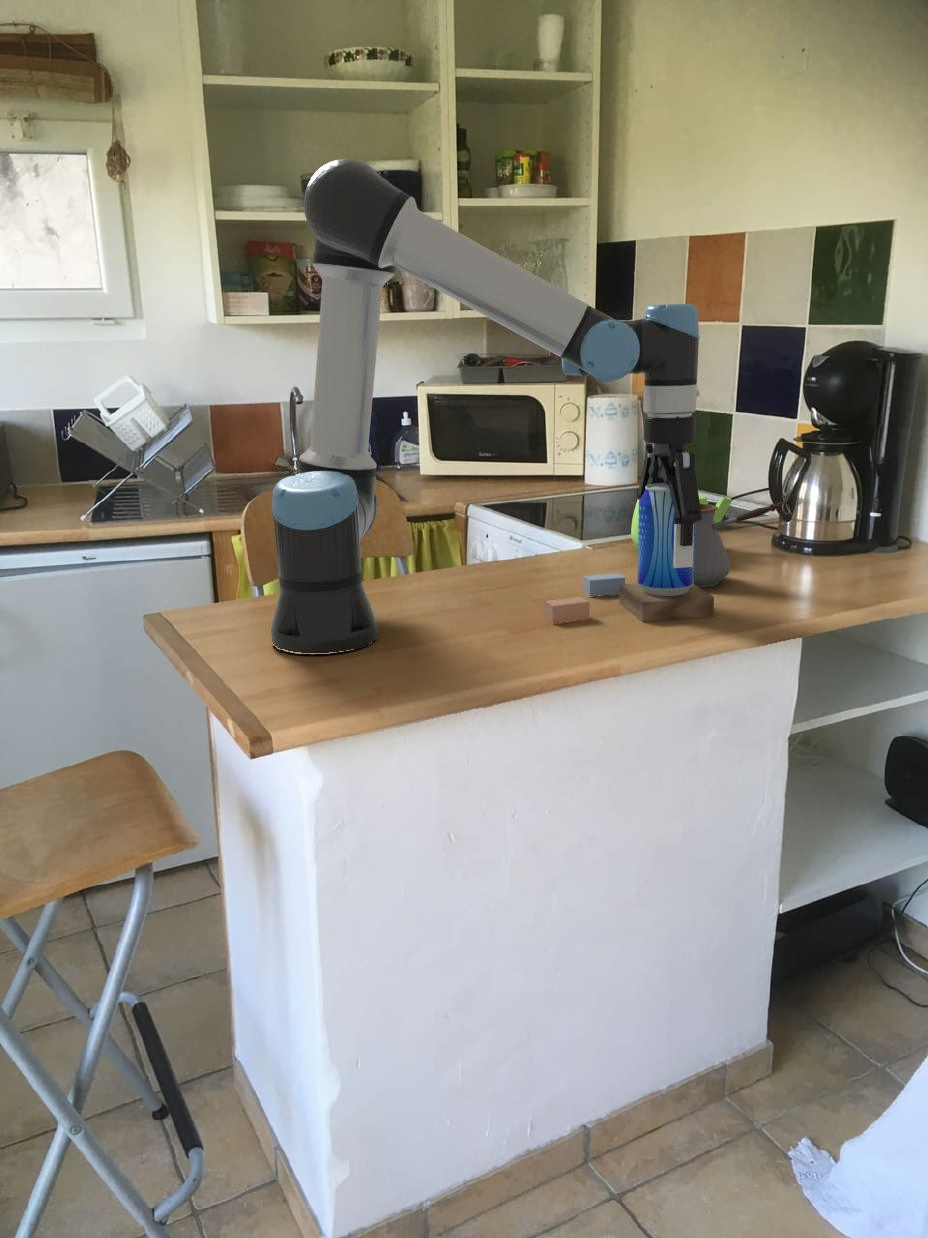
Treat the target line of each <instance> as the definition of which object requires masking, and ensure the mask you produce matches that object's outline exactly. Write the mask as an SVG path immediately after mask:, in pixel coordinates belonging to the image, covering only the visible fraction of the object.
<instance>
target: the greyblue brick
mask: <svg viewBox="0 0 928 1238" xmlns="http://www.w3.org/2000/svg"><path fill="white" fill-rule="evenodd" d="M622 584H626V577H625V576H624V575H622V574H620V573H619V572H618V573H608V574H607V573H606V574H605V573H604V574H592V575H584V576H583V593H584V592H586V593H587V594H588V595H589V596H598V595H601V596H600V597H603V596H602V595H610V596H618V595H617V594H620V585H622ZM588 595H587V596H588ZM589 596H588V597H589ZM598 597H599V596H598Z"/></svg>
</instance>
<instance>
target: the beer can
mask: <svg viewBox="0 0 928 1238" xmlns="http://www.w3.org/2000/svg"><path fill="white" fill-rule="evenodd" d="M645 489H646V490H645V492H644V494H643V495H642V497H641V499H640V500H639V525H638V550H637V583H638V584H639V585H640V586H641V587H642V590H643V592H645V593H647V594H651V595H656V596H677V595H682V594H685V593H687V592H688V591H689V588H690V587H691V586H692V585H693V584H694V560H695V527H696V523H694V547H693V567H684V568H674V567H673V557H674V524H673V521H674V519H675V518H677V517H676V513H675V509H674V505H673V501H672V497H671V493H670V489H669V486H668V485H667V484H665V483H656V484H650V485H647V486H645Z"/></svg>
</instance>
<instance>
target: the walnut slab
mask: <svg viewBox="0 0 928 1238" xmlns="http://www.w3.org/2000/svg"><path fill="white" fill-rule="evenodd" d="M714 603H715V597H714V595H712V594H710V593H708V592H707V591H705V590H703V589H702V588H701V587H697V586H696V585H694V584H693V585H692V586H691V587H690V588H689V591H688V592H687V593H685V594H682V595H677V596H656V595H651V594H647V593H645V592H643V590H642V587H641V586H640V585H639V584H638V582H637V583H625V584H622V585H620V595H619V604H620V605H621V606H622V607H623V608H625V609H626V610H627V611H628V612H630V613H631V614H632V615H633V616H634V617H636V618H637V619H638V620H640V621H641V622H642V623H645V622H646V623H647V622H648V623H649V622H659V621H660V622H661V621H671V620H673V621H674V620H684V619H685V620H686V619H697V618H708V617H714V608H715V607H714V605H715V604H714Z"/></svg>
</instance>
